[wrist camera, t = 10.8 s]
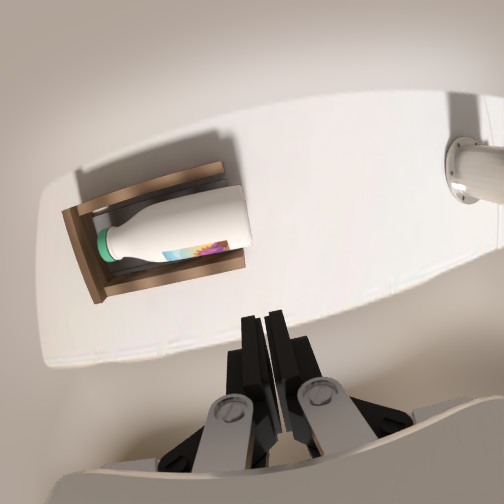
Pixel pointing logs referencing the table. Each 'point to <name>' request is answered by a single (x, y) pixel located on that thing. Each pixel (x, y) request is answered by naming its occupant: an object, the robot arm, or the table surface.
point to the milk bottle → (181, 228)
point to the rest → (100, 271)
